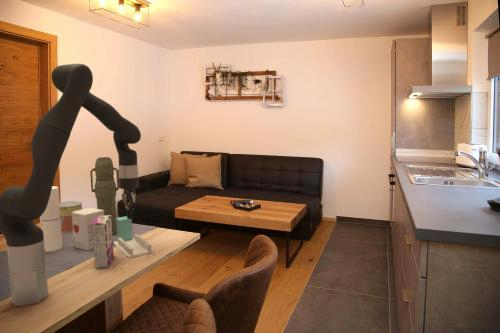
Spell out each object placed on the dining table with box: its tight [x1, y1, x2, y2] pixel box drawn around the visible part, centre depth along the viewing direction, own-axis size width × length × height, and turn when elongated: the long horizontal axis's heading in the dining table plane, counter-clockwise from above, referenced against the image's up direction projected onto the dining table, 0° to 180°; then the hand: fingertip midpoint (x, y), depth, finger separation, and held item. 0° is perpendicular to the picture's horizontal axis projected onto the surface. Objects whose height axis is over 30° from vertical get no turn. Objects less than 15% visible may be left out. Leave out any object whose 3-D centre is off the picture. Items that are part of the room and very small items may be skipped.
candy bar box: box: [92, 215, 115, 269], centre depth 134 cm, size 11×5×16 cm, turn 12°
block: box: [116, 215, 133, 241], centre depth 157 cm, size 5×5×9 cm
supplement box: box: [72, 207, 104, 251], centre depth 151 cm, size 9×9×15 cm
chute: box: [113, 233, 155, 259], centre depth 149 cm, size 20×10×3 cm, turn 36°
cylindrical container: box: [39, 186, 63, 253], centre depth 148 cm, size 7×7×25 cm
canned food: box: [59, 200, 83, 233], centre depth 175 cm, size 11×11×12 cm
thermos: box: [89, 156, 120, 237], centre depth 165 cm, size 9×12×35 cm
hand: (130, 218), depth 149 cm, fingers closed
